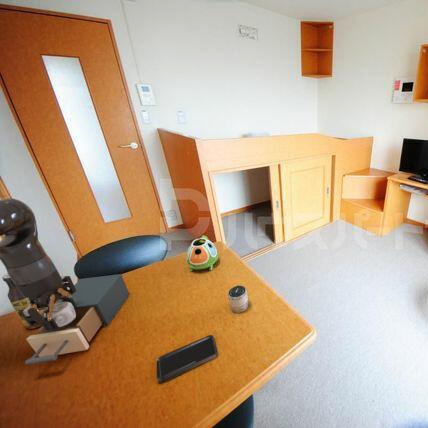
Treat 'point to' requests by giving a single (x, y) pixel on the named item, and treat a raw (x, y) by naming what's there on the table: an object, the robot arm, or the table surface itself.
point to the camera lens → (238, 299)
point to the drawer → (65, 336)
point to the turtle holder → (201, 254)
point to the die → (63, 313)
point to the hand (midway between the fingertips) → (62, 318)
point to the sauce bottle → (18, 299)
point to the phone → (185, 358)
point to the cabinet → (101, 295)
